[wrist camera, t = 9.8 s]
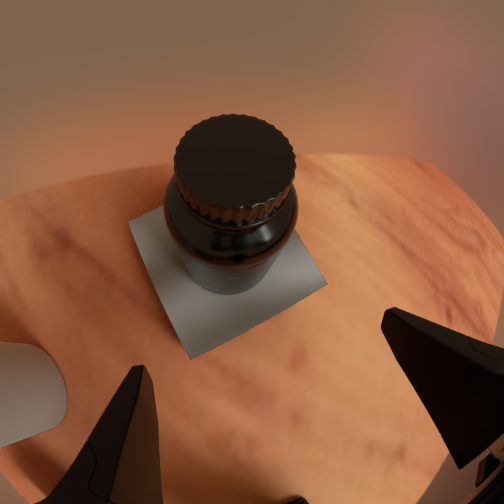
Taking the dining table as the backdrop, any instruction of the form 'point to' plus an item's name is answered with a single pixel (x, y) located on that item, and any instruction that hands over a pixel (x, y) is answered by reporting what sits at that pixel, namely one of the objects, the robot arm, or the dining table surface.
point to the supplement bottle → (231, 201)
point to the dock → (214, 305)
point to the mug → (28, 392)
